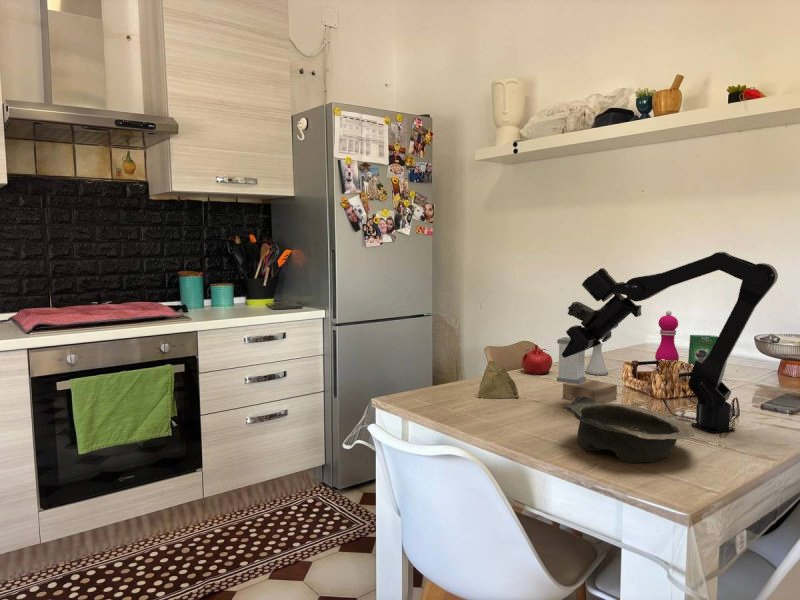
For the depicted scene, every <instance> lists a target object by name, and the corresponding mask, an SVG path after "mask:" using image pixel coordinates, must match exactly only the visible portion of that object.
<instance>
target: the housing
mask: <svg viewBox="0 0 800 600" xmlns="http://www.w3.org/2000/svg"><path fill="white" fill-rule="evenodd" d="M570 340H571V338H570V337H569V336H568V337H562V338H561V337H560V338H559V339H557V341H556V342H557V344H558V376H557V377H556V382H559V383H560V382H561V383H573V384H581V383H583V382H585V381H586V379H587V377H586V376H585V364H586V363H585V358H586V357H585V354H586V353H585V352H586V350H585V351H582V352H579V353H576V354H574V355H571V356H568V357H565V358H564V357H563V356H562V353H563V352H564V350H565V348H566V347H567V345H568V343H569V342H570Z"/></svg>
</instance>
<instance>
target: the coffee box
mask: <svg viewBox="0 0 800 600" xmlns="http://www.w3.org/2000/svg"><path fill="white" fill-rule="evenodd" d="M718 337H719V335H712V334H709V335H708V334H707V335H706V334H690V335H689V345H688V359H687V360H688V361H687V364H688V363H689V364H693V365H694V364H695V361H696V360H697V359H699V358H700V357H702V358H704V359H706V358H707V357H708V355H709V354H710V352H711V350H712V348H713V346H714V344H715V342H716V340H717V338H718Z"/></svg>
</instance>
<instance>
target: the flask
mask: <svg viewBox="0 0 800 600" xmlns="http://www.w3.org/2000/svg"><path fill="white" fill-rule="evenodd" d="M602 347H603V342H601V344H599V345H597V346H594V347H592V353H591V356H590V358H589V362H588V363H587V366H586V369H585V370H584V373H585V374H589V375H594V376H605V375H608V374H609V373H608V370H607V366H606V363H605V359H604V356H603V352H602Z"/></svg>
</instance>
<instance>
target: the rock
mask: <svg viewBox="0 0 800 600" xmlns="http://www.w3.org/2000/svg"><path fill="white" fill-rule="evenodd" d="M478 389H479V391H478V394H477V398H478V397H483V399H490V398H491V399H508V398H510V399H511V398H513V399H514V398H519V397H520V396H519V390H518V387H517V385H516V383H515V381H514V380H513V378H512V377H511V375H510V374H509V373H508V372H507V370H506V368H505V367H503V366H502V365H501V364H499V362H497V361H495V360H489V361H488V362H487V365H486V368H485V369H484V373H483V376H482V379H481V381H480V384H479V388H478Z"/></svg>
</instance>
